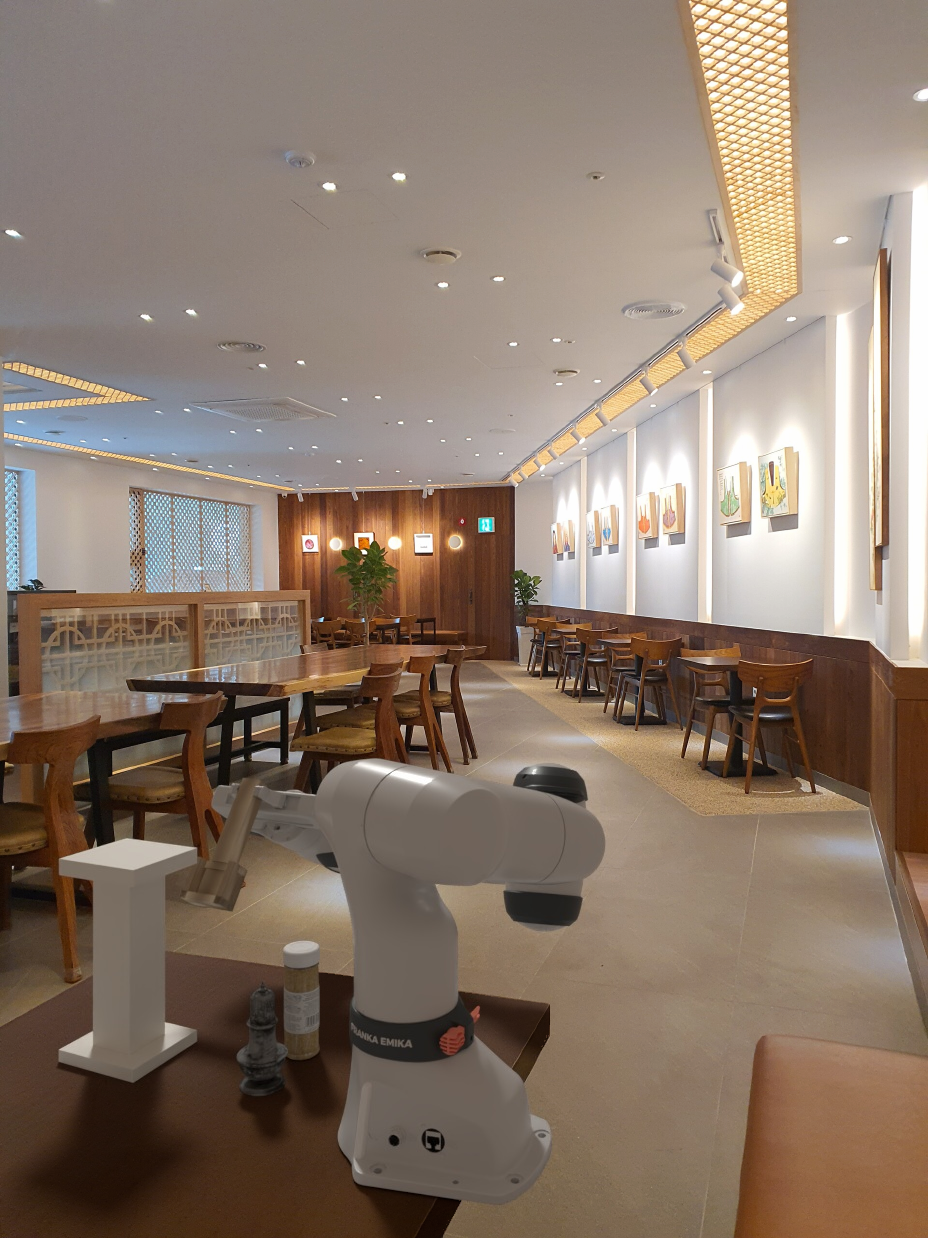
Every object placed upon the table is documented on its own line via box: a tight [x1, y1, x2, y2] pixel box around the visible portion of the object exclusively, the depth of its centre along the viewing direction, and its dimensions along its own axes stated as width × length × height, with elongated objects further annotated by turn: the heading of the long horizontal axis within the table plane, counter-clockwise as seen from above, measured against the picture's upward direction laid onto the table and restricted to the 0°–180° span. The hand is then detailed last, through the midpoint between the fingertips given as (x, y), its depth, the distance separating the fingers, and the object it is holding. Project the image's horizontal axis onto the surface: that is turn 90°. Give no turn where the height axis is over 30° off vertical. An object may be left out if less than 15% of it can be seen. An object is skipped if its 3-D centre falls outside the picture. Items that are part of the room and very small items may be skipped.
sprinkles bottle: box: [282, 940, 321, 1061], centre depth 110 cm, size 5×5×14 cm
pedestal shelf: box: [58, 837, 198, 1084], centre depth 110 cm, size 12×11×25 cm
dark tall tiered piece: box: [236, 981, 288, 1097], centre depth 103 cm, size 6×6×12 cm
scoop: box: [179, 777, 268, 913], centre depth 129 cm, size 7×19×4 cm
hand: (245, 789), depth 132 cm, fingers closed on scoop, 3 cm apart
